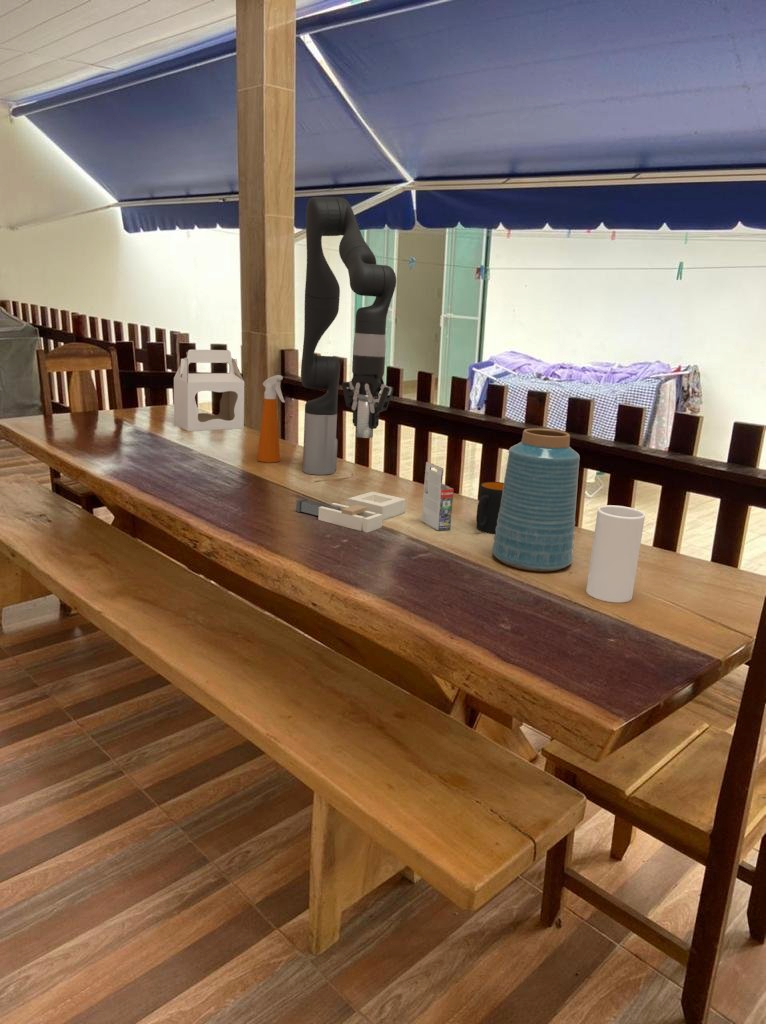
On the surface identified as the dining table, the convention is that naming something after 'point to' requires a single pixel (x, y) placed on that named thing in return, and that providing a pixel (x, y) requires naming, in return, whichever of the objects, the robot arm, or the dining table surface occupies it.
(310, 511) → the pin
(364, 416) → the salt shaker
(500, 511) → the vase
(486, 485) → the mug
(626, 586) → the cup
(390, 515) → the socket block
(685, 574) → the dining table surface
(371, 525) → the pin guide
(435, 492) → the ink box
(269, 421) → the spray bottle
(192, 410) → the gable box
